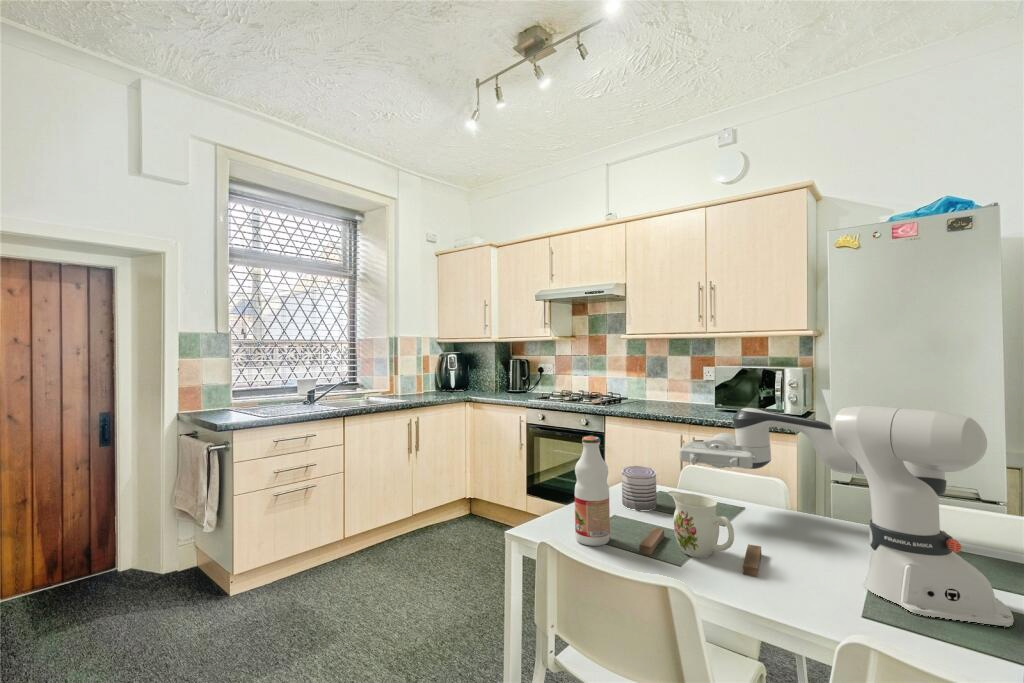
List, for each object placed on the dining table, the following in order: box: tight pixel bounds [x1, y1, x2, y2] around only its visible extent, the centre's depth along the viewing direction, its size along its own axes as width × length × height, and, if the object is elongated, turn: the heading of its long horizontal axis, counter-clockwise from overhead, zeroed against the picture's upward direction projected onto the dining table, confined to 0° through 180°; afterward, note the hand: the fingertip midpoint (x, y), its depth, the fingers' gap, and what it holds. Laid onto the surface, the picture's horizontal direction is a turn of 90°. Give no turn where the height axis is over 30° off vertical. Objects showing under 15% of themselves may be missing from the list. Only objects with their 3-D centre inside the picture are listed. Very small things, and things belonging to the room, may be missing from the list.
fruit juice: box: [574, 435, 611, 547], centre depth 130 cm, size 9×9×28 cm
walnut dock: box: [638, 527, 762, 578], centre depth 121 cm, size 27×14×2 cm, turn 59°
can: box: [620, 465, 658, 510], centre depth 159 cm, size 11×11×12 cm
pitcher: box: [667, 490, 735, 559], centre depth 121 cm, size 11×18×14 cm, turn 36°
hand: (710, 462), depth 136 cm, fingers open, 8 cm apart
